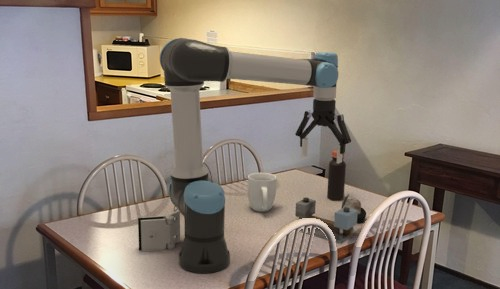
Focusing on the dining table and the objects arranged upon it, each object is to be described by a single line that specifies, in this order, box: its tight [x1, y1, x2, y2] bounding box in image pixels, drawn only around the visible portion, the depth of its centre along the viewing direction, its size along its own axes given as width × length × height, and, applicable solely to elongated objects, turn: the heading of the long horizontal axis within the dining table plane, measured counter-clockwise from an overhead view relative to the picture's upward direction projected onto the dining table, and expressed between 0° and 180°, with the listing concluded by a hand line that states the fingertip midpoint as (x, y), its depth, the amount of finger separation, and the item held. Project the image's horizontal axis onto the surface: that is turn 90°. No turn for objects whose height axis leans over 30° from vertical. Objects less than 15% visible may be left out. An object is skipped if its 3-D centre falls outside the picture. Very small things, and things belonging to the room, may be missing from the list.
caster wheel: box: [340, 193, 367, 224], centre depth 185 cm, size 7×11×10 cm
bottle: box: [326, 149, 347, 202], centre depth 204 cm, size 7×7×20 cm
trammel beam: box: [294, 196, 354, 238], centre depth 174 cm, size 7×20×9 cm, turn 52°
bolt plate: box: [299, 228, 351, 244], centre depth 172 cm, size 7×20×1 cm, turn 52°
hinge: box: [137, 211, 181, 252], centre depth 157 cm, size 14×5×10 cm, turn 116°
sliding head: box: [333, 207, 358, 234], centre depth 169 cm, size 7×5×8 cm
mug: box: [247, 172, 277, 213], centre depth 189 cm, size 15×11×13 cm
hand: (321, 159), depth 173 cm, fingers open, 13 cm apart
